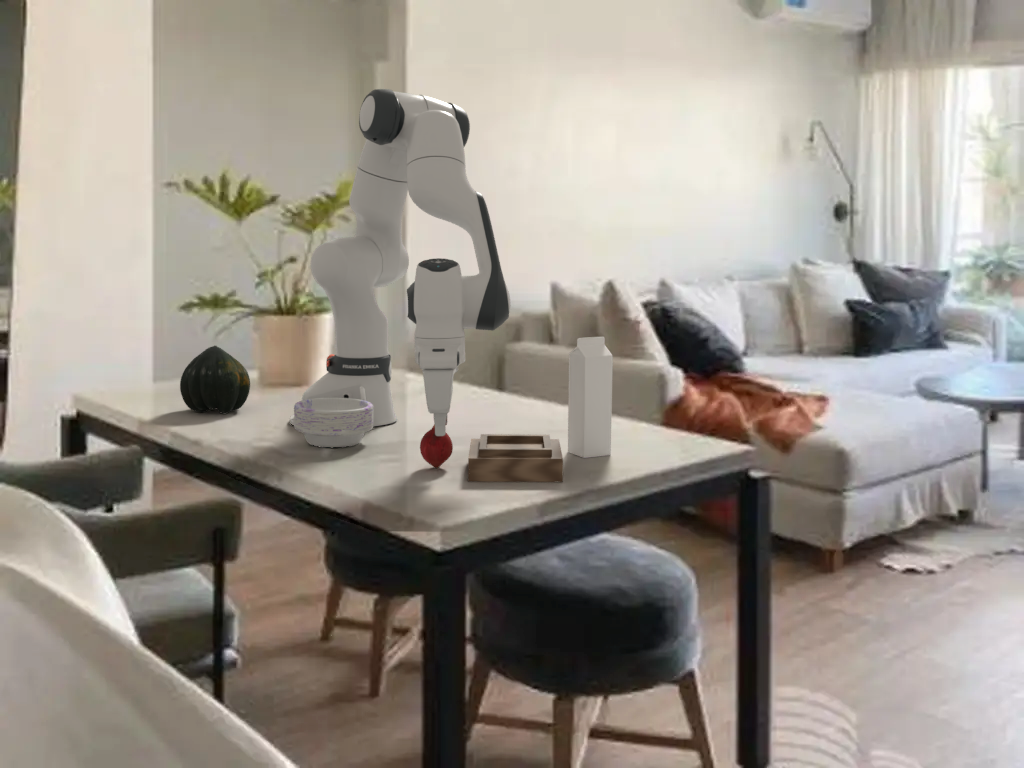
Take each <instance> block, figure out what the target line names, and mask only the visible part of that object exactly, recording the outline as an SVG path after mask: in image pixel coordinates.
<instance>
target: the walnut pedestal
mask: <svg viewBox="0 0 1024 768" xmlns="http://www.w3.org/2000/svg"><path fill="white" fill-rule="evenodd" d="M468 451H469V452H468V457H467V461H468V463H467V464H468V465H467V466H468V467H467V468H468V469H467V470H468V471H467V472H468V473H467V475H468V476H467V477H468V479H467V480H468V482H482V483H483V482H488V483H489V482H492V483H493V482H494V483H495V482H500V483H501V482H505V483H506V482H507V483H509V482H510V483H511V482H513V483H515V482H516V483H517V482H519V483H520V482H521V483H523V482H524V483H526V482H527V483H529V482H530V483H531V482H532V483H533V482H534V483H539V482H541V483H549V482H550V483H563V480H564V479H563V478H564V477H563V475H564V472H563V471H564V469H563V468H564V457H563V453H562V447H561V444H560V439H559V438H551V436H550V434H519V433H518V434H515V433H514V434H513V433H512V434H503V433H501V434H496V433H495V434H493V433H492V434H491V433H490V434H486V433H485V434H484V433H483V434H482V433H481V434H480V438H471V439H470V444H469V450H468Z"/></svg>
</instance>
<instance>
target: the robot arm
mask: <svg viewBox="0 0 1024 768" xmlns="http://www.w3.org/2000/svg"><path fill="white" fill-rule="evenodd" d="M358 115H359V116H358V126H359V130H360V132H361V133H362V136H363V137H364V138H365V142H364V145H363V148H362V150H361V153H360V156H359V159H358V164H357V166H356V172H355V176H354V179H353V184H352V187H351V188H352V189H351V191H350V196H349V206H350V207H349V208H350V209H351V210H352V212H354V214H355V218H356V219H355V220H356V222H355V223H356V228H355V229H356V230H355V234H354V236H345V237H337V238H333V239H330V240H328V241H327V240H326V241H325V242H323V243H321V244H320V245H318V246H317V247H316V248H315V249H314V251H313V253H312V255H311V257H310V270H311V275H312V277H313V278H314V280H315V282H316V283H317V284H318V285H319V286H320V287H321V288H322V289H323V291H324V292H325V294H326V296H327V298H328V301H329V304H330V307H331V310H332V313H333V318H334V319H333V320H334V330H335V331H334V333H335V354H333V353H331V354H328V356H327V357H326V364H325V365H326V372H327V373H325V374H324V375H323V376H322V377H320V378H319V379H318V380H316V381H315V382H314V383H313V384H311V385H310V386H309V387H308V388H307V389H305V391H304V393H303V394H302V397H301V400H300V401H303V400H307V399H315V398H351V399H359V400H364V401H368V402H370V403H372V404H373V427H379V426H384V425H389V424H393V423H395V422H396V421H398V418H397V415H396V411H395V407H394V403H393V402H394V401H393V396H392V389H391V381H392V374H393V373H392V369H393V368H392V360H391V358H392V357H391V354H390V352H389V351H390V350H389V349H390V348H389V345H390V344H389V343H390V342H389V319H388V317H387V315H386V314H385V312H384V311H382V310H381V308H380V307H379V305H378V302H377V300H376V295H375V291H374V289H376V288H384V287H387V286H390V285H392V284H394V283H395V282H398V281H399V280H402V278H403V277H405V275H406V273H407V271H408V270H409V266H410V256H409V253H408V250H407V248H406V247H405V245H404V243H403V239H402V238H403V237H402V218H403V212H404V208H405V203H406V199H407V196H408V195H409V197H410V199H411V201H412V202H413V203H414V204H415V205H416V206H417V207H418V208H419V209H420V210H421V211H423V212H424V213H425V214H428V215H429V216H432V217H433V218H437V219H439V220H443V221H446V222H448V223H451V224H453V225H455V226H458V227H459V228H461V229H463V230H464V231H466V233H467V234H469V236H470V237H471V238H470V239H471V240H472V244H473V249H474V253H475V258H476V262H477V263H476V264H477V268H478V271H479V273H477V274H475V275H474V274H473V275H462V270H461V266H460V264H459V263H458V262H457V261H455V260H453V259H448V258H437V257H436V258H429V259H424V260H422V261H420V262H418V263H417V265H416V269H415V277H414V281H413V282H412V283H411V284H410V285H409V287H407V289H406V294H407V295H406V296H407V316H406V317H407V318H408V319H409V320H410V321H411V322H412V323H413V324H415V330H414V336H413V337H414V363H416V364H417V365H418V366H419V369H420V370H422V371H421V372H422V378H423V384H424V393H425V401H426V406H427V410H428V413H429V414H433V423H434V424H435V435H436V436H444V435H445V433H447V432H446V429H447V428H446V426H447V424H448V422H449V421H448V415H449V414H448V413H450V409H451V403H452V398H453V393H454V392H453V389H454V386H453V383H454V375H455V374H456V373H458V372H459V366H460V365H461V364H463V363H465V362H466V332H465V329H475V330H479V331H480V330H481V331H495V330H497V329H498V328H500V327H501V326H502V325H504V323H505V322H507V320H508V319H509V318H510V313H511V297H510V292H509V289H508V286H507V283H506V282H505V278H504V275H503V271H502V265H501V261H500V256H499V253H498V249H497V244H496V238H495V234H494V231H493V226H492V221H491V218H490V214H489V210H488V207H487V206H488V205H487V203H486V200H485V197H484V196H483V195H482V193H480V192H479V191H476V190H475V189H474V188H473V186H471V184H470V181H469V179H468V176H467V173H466V171H467V170H466V155H465V146H466V145H467V143H468V140H469V136H470V129H471V123H470V119H469V116H468V114H467V112H466V111H465V110H464V109H463V108H462V107H460V106H458V105H456V104H454V103H452V102H444V101H443V100H440V99H437V98H435V97H431V96H427V95H423V94H414V93H408V92H401V91H393V90H392V89H390V88H377V89H372V90H371V91H370V92H369V93H368V94H367V95H366V96H365V97H364V98H363V101H362V103H361V106H360V111H359V114H358ZM289 422H290V423H291V424H293V425H294V413H293V414H291V415H290V417H289ZM290 423H289V424H290ZM291 424H290V425H291ZM434 424H433V425H434Z"/></svg>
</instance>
